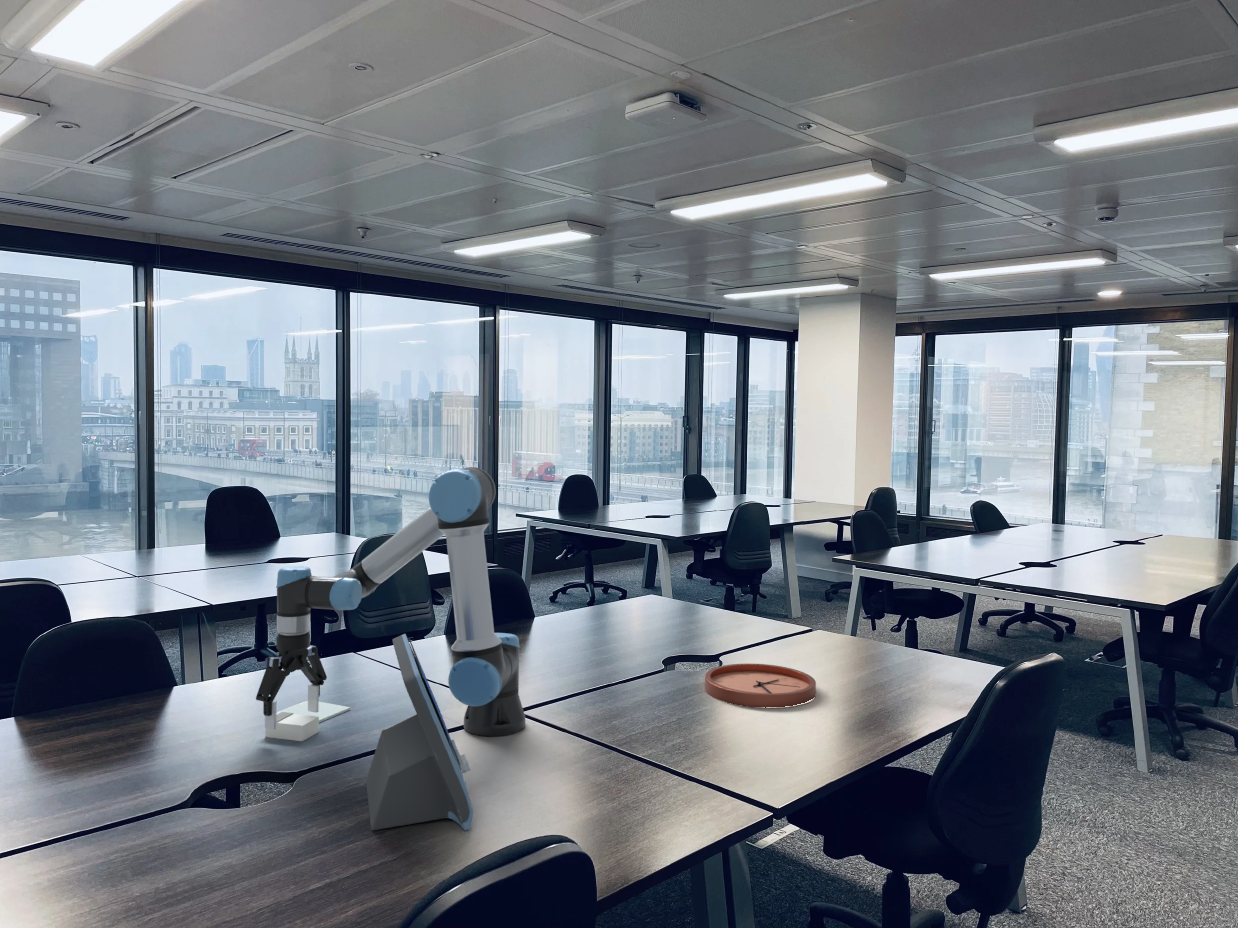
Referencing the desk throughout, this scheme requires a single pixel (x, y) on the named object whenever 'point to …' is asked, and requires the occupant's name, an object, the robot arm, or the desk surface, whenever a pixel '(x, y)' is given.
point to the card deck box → (294, 727)
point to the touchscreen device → (417, 760)
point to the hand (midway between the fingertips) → (292, 719)
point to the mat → (323, 712)
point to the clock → (759, 685)
